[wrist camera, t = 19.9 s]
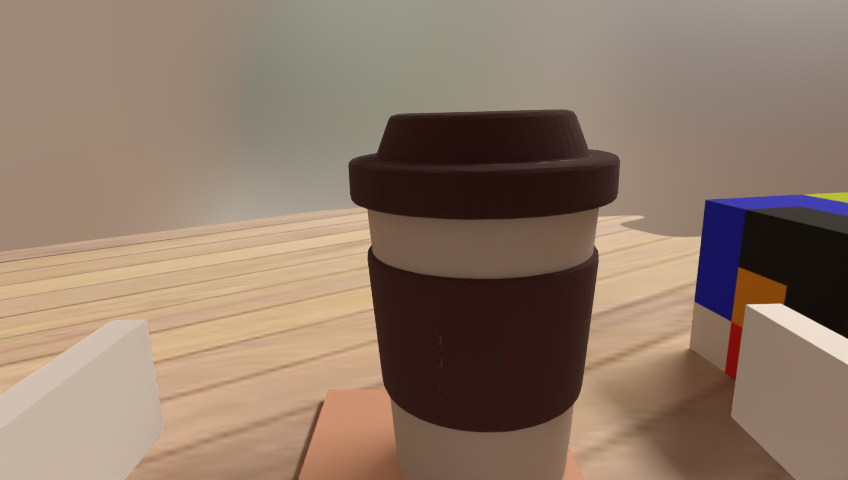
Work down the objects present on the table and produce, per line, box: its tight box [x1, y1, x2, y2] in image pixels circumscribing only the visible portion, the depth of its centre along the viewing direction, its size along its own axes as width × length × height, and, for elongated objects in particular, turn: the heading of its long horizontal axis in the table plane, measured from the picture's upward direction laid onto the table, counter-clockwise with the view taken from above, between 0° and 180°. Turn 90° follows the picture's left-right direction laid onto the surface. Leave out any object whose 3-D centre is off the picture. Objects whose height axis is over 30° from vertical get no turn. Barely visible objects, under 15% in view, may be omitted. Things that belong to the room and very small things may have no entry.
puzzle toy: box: [690, 192, 848, 380], centre depth 29 cm, size 10×10×10 cm
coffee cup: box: [349, 110, 620, 480], centre depth 21 cm, size 10×10×15 cm
